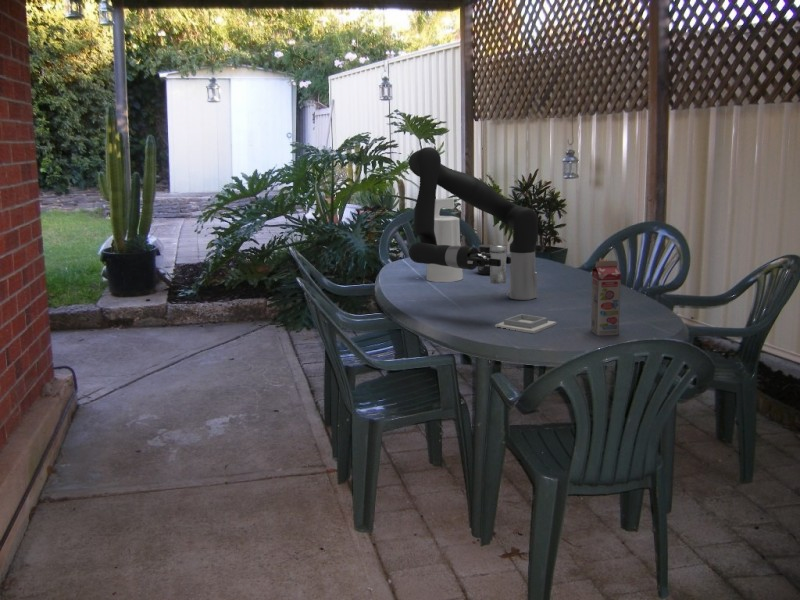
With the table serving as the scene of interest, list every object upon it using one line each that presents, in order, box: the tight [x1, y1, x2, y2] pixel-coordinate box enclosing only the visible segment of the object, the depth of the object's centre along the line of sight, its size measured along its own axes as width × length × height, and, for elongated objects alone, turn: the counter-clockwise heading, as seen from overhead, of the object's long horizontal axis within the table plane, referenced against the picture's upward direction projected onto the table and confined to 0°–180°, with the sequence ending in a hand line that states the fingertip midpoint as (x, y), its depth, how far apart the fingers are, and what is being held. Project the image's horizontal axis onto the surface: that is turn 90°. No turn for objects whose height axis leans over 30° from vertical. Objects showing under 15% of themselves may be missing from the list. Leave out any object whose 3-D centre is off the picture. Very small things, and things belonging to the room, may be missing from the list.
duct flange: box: [494, 313, 557, 334], centre depth 262 cm, size 14×14×2 cm
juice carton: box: [590, 260, 622, 337], centre depth 250 cm, size 7×7×22 cm
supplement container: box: [477, 243, 496, 276], centre depth 353 cm, size 10×10×12 cm
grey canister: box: [489, 243, 508, 285], centre depth 265 cm, size 6×6×12 cm
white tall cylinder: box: [426, 197, 464, 283], centre depth 342 cm, size 15×15×33 cm
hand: (505, 261), depth 263 cm, fingers closed on grey canister, 5 cm apart
